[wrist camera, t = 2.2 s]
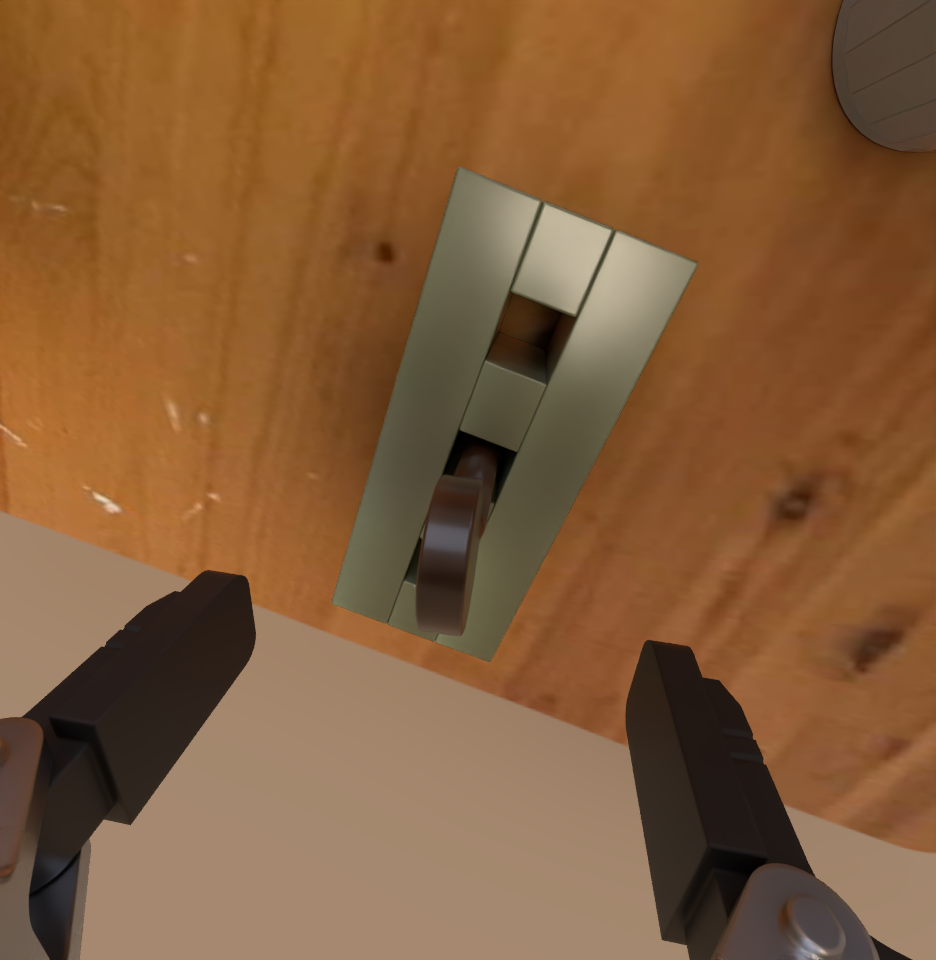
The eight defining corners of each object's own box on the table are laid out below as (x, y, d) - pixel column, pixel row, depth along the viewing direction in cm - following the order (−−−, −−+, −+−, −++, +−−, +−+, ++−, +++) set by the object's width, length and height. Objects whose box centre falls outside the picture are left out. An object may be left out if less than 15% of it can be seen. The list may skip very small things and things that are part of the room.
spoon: (502, 458, 24) (462, 674, 12) (473, 454, 24) (405, 664, 12) (512, 376, 22) (477, 531, 10) (481, 372, 22) (410, 521, 10)
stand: (372, 532, 27) (330, 604, 21) (480, 188, 19) (457, 165, 14) (500, 580, 27) (490, 663, 22) (655, 258, 19) (700, 262, 14)
